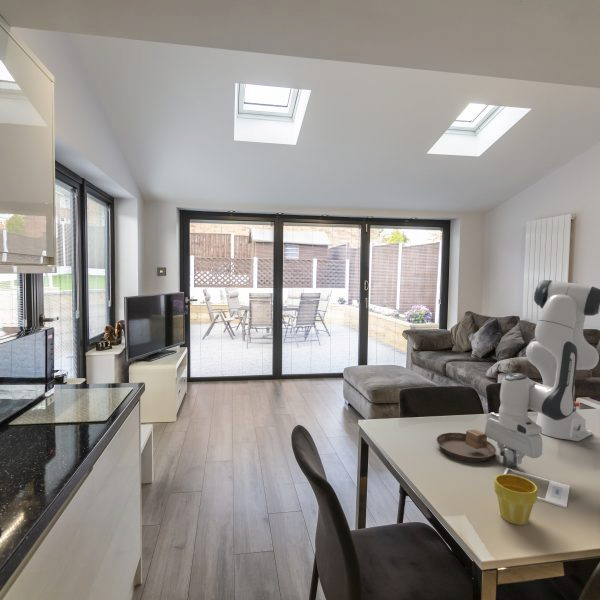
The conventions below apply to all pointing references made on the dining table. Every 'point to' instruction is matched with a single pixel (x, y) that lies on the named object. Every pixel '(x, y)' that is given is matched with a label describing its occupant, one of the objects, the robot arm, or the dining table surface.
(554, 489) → the photo frame
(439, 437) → the plant saucer
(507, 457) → the grey metal peg
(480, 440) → the walnut block
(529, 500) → the plant pot
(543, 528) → the dining table surface
